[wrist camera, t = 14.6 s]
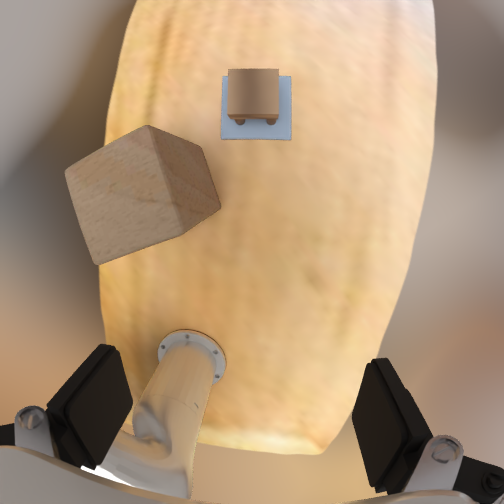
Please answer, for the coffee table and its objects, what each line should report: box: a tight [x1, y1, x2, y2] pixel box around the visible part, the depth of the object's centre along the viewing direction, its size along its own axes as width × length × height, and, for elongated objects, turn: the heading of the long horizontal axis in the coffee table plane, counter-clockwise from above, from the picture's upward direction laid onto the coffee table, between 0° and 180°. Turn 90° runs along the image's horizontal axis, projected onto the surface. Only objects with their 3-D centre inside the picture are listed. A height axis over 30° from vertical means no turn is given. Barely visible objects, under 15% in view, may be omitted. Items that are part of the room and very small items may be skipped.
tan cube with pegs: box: [227, 69, 279, 125], centre depth 34 cm, size 6×6×8 cm
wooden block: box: [65, 125, 221, 265], centre depth 32 cm, size 10×10×20 cm
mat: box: [221, 76, 291, 140], centre depth 38 cm, size 10×10×1 cm
